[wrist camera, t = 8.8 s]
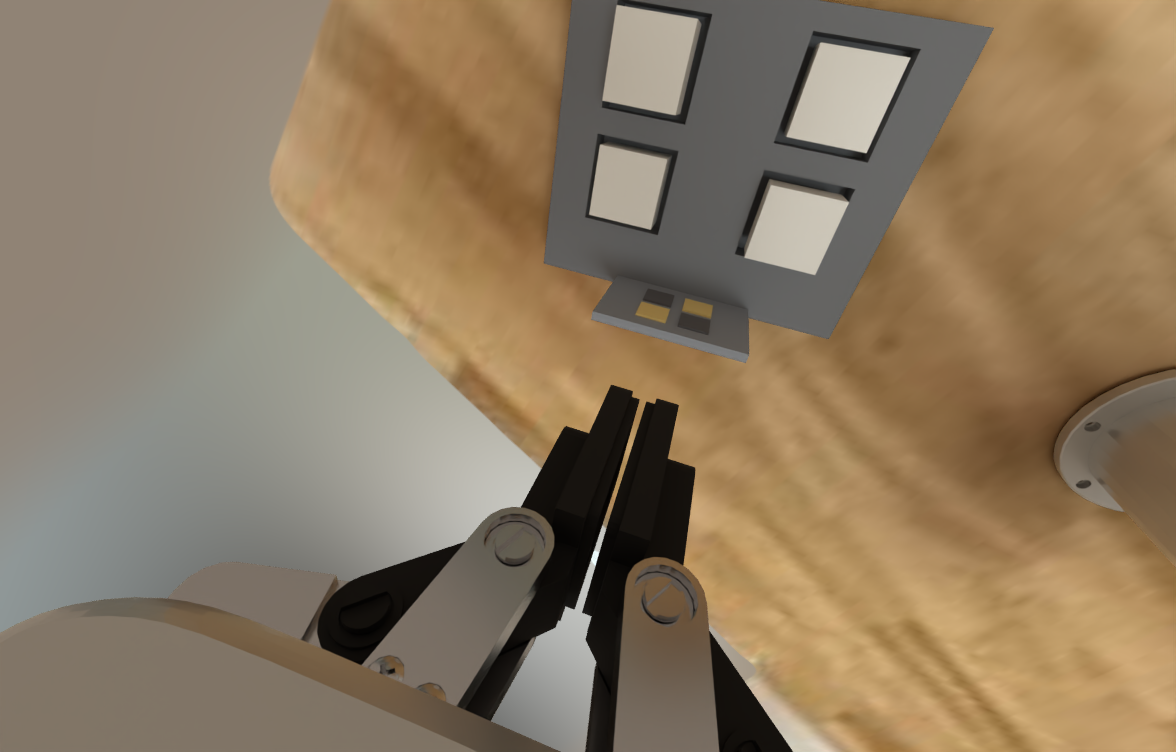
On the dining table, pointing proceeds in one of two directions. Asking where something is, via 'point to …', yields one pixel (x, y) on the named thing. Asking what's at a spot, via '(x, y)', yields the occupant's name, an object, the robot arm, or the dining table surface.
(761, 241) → the button
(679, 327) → the card
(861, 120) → the button
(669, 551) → the robot arm
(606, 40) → the board
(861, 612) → the dining table surface
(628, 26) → the button
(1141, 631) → the dining table surface
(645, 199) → the button
